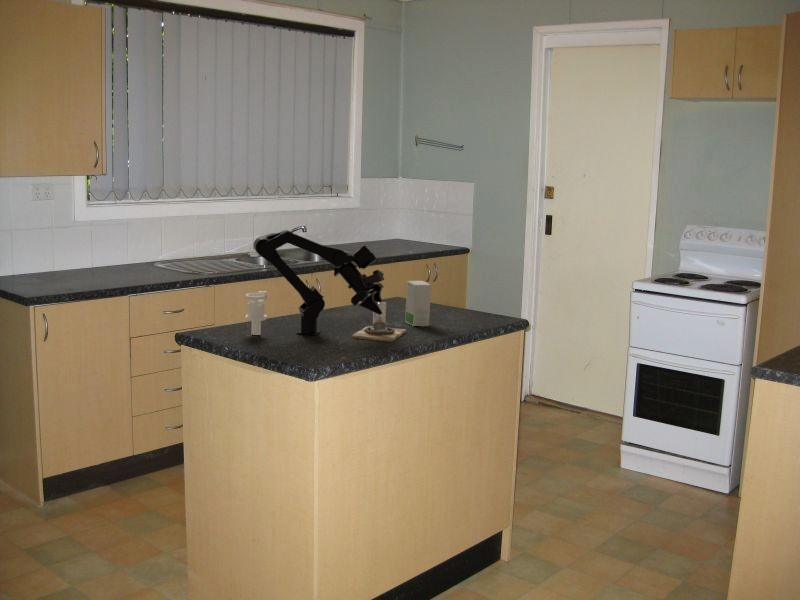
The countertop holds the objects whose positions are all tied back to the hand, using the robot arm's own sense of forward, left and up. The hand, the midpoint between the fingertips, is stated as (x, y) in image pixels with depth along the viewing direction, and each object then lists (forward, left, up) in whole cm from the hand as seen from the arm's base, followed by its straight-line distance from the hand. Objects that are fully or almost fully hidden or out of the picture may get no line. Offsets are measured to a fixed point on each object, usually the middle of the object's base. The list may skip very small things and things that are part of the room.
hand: (383, 312), depth 306 cm
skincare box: (+23, -6, -8) cm, 25 cm away
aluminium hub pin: (0, +1, -7) cm, 7 cm away
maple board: (0, +1, -8) cm, 8 cm away
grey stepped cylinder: (-17, +39, -8) cm, 44 cm away
